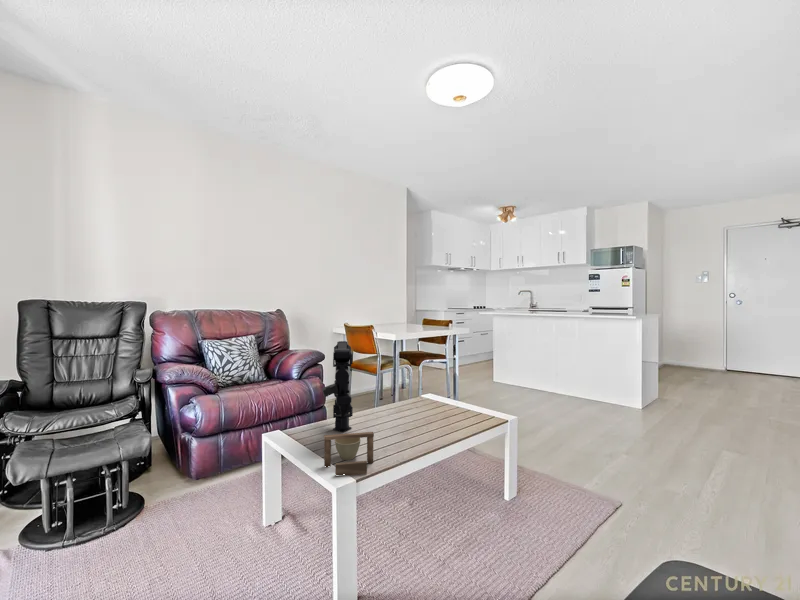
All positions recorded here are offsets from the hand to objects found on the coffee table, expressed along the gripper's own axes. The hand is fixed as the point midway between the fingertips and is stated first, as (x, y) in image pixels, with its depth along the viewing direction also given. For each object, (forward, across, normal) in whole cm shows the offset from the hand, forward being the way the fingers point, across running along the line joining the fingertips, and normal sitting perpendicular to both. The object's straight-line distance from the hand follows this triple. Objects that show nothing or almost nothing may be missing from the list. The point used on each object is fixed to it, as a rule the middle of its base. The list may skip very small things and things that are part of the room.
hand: (342, 414), depth 168 cm
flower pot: (+12, +18, +1) cm, 21 cm away
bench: (+12, +28, +1) cm, 30 cm away
